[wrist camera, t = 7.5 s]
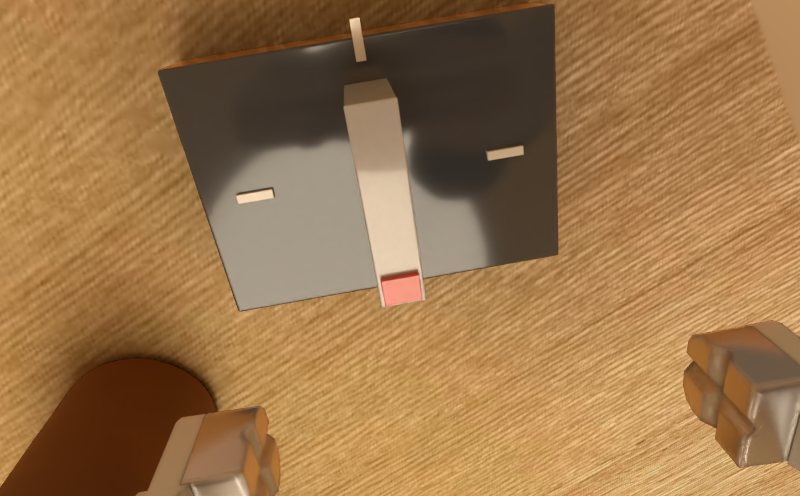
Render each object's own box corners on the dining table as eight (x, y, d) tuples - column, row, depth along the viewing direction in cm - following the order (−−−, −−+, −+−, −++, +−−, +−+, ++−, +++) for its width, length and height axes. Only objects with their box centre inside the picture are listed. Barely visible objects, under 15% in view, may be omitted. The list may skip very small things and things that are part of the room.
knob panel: (527, -15, 21) (556, -16, 18) (536, 238, 26) (560, 269, 23) (175, 44, 20) (148, 52, 18) (253, 289, 25) (241, 326, 23)
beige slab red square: (343, 85, 19) (343, 107, 15) (387, 77, 19) (398, 98, 15) (375, 257, 22) (381, 312, 18) (413, 250, 22) (427, 304, 18)
